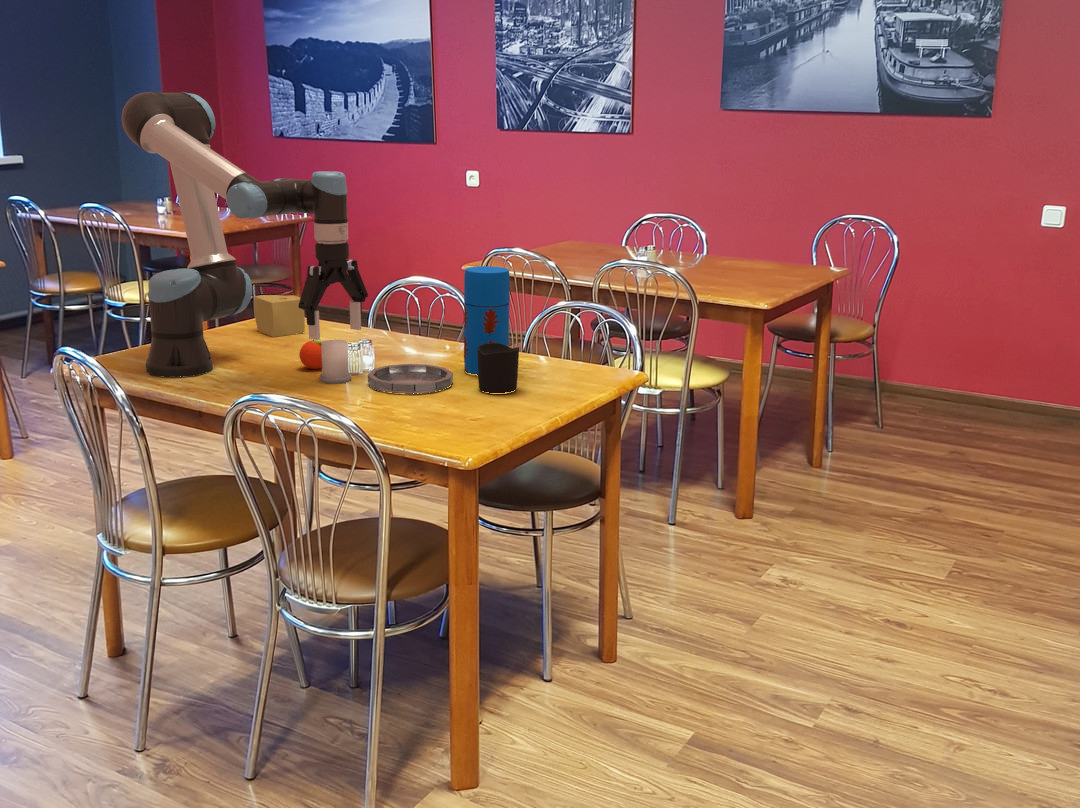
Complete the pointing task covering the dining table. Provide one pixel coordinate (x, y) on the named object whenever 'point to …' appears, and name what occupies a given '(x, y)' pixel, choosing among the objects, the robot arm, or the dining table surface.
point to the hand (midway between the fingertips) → (335, 334)
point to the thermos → (485, 310)
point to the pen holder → (497, 368)
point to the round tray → (410, 378)
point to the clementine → (311, 354)
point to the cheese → (278, 315)
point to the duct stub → (334, 362)
